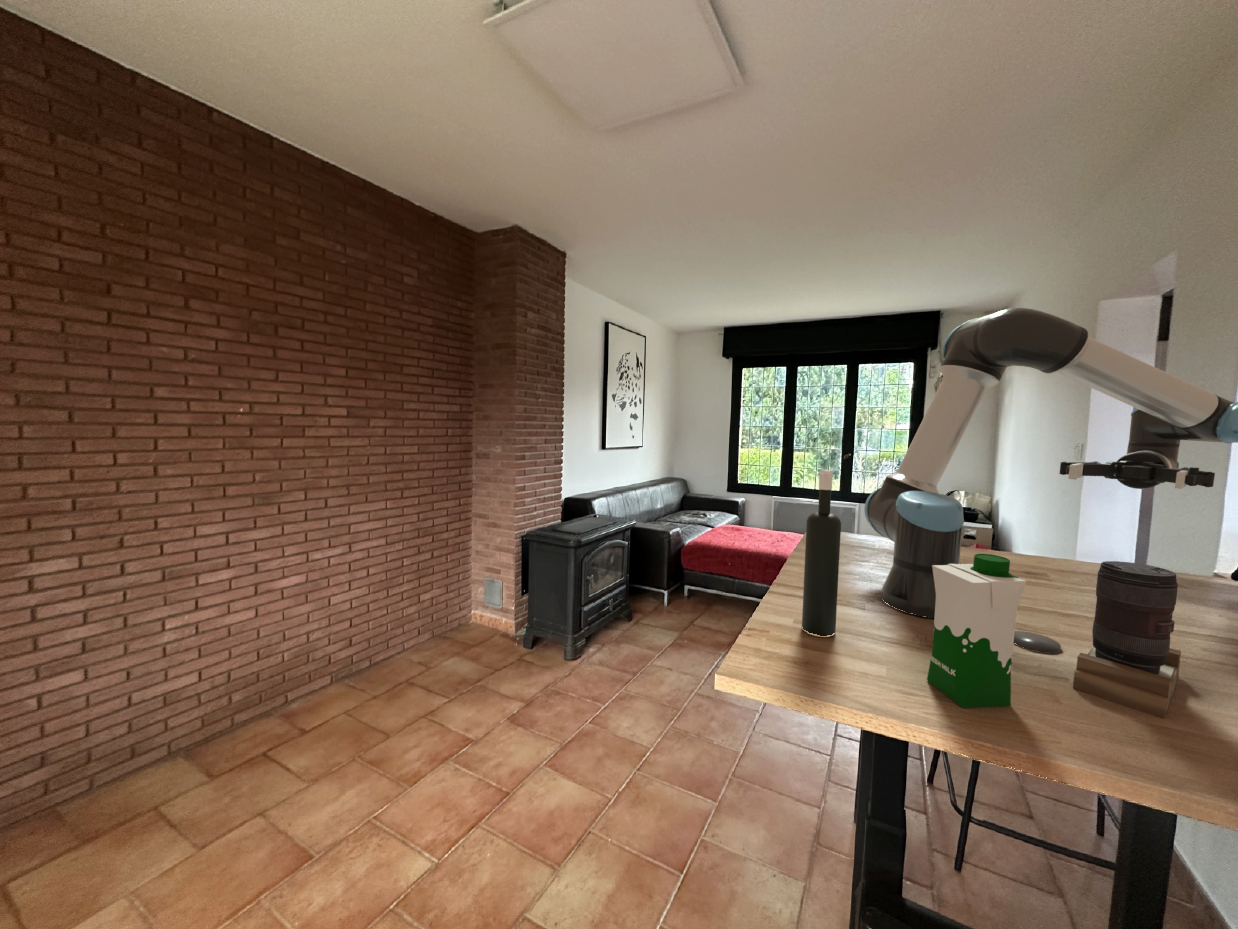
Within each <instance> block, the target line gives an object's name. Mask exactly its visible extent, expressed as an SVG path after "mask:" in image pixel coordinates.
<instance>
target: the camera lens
mask: <svg viewBox="0 0 1238 929" xmlns="http://www.w3.org/2000/svg"><path fill="white" fill-rule="evenodd" d="M1096 576H1097V578H1096V587H1095V588H1096V590H1095V597H1096V601H1095V611H1094V620H1093V624H1092V630H1091V631H1092V647H1093V646H1094V647H1095V657H1098V658H1101V659H1105V660H1108V661H1112V662H1115V663H1119V664H1122V665H1125V666H1129V667H1132V668H1136V669H1139V670H1143V671H1146V672H1150V673H1153V674H1156V675H1158V674H1159V672H1160V667H1161V666H1163V665H1164V664H1165V663H1166V658H1167V655H1168V653H1169V648H1171V647H1170V646H1171V634H1172V633H1173V632H1174V631H1175V630H1174V629H1175V620H1173V614H1174V611H1175V607H1176V604H1177V596H1178V588H1179V584H1178V580H1177V573H1176V572H1175V571H1172V570H1170V569H1166V568H1162V567H1158V566H1153V565H1149V564H1144V563H1138V562H1137V563H1136V562H1130V561H1116V560H1113V561H1109V560H1107V561H1106V560H1105V561H1102V562H1101V563H1100V567H1099V569H1098V570H1097V575H1096Z"/></svg>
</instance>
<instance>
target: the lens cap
mask: <svg viewBox="0 0 1238 929" xmlns="http://www.w3.org/2000/svg"><path fill="white" fill-rule="evenodd" d="M1014 643H1016V644H1017V645H1016V644H1015V645H1016V646H1018V645H1019V646H1018V647H1020V648H1023V647H1024V648H1023V649H1026V650H1030V651H1032V650H1033V652H1036V653H1037V652H1038V653H1042V654H1059V653H1060V652H1061V650H1062V645H1061V644H1060V642H1058V641H1057V640H1056V639H1053V638H1050V637H1048V636H1045V635H1042V634H1038V633H1036V632H1031V631H1030V632H1029V631H1023V630H1015V633H1014ZM1014 643H1013V644H1014Z"/></svg>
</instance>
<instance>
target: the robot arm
mask: <svg viewBox="0 0 1238 929" xmlns="http://www.w3.org/2000/svg"><path fill="white" fill-rule="evenodd" d="M941 355H942V357H943V361H942V363H941V365H940V367H939V370H940V371H939V372H941V375H942V377H943V378H942V380H941V382H940V384H939V386H938V387H937V390H936V392H935V394H934V396H933V398H932V399H931V400H932V401H931V402H930V404H929V406H928V408H927V410H926V412H925V414H924V416H923V418H922V421H921V423H920V424H919V426H918V428H917V430H916V433H915V434H914V437H913V439H912V441H911V442H910V444H909V447H908V449H907V450H906V453H905V454H904V457H903V459H902V460H901V462H900V464H899V467H898V469H897V471H896V472H894V473H891V474H888V475H886V477H885V479H884V481H883V483H882V485H881V487H880V488H877V489H875V490H873V491H872V492H871V493H870V495H868V496H867V499H866V500H865V504H864V517H865V518H866V521H867V524H869V526H870V527H871V529H873V530H874V531H875V532H876V533H877V534H878V535H880V536H882V537H885V538H886V539H888V540H890V541H892V542H893V543H894V544H893V545H894V546H893V558H892V559H893V561H892V567H890V571H889V573H888V575H887V577H886V579H885V581H884V583H883V585H882V589H881V600H882V599H883V600H884V602H886V603H888V604H889V605H890V606H893V607H895V608H897V609H900V610H903V611H905V612H907V613H906V614H908V613H913V614H916V615H919V616H918V617H920V616H926V617H929V618H928V619H933V618H935V604H936V591H935V583H934V576H933V568H932V565H948V564H961V563H960V562H961V550H962V539H963V538H962V536H963V526H964V523H965V519H964V518H965V517H964V507H963V505H962V503H961V502H960V501H959V500H957V499H956V498H954V497H952V496H949V495H946V494H943V493H941V494H940V492H939V490H938V488H937V487H938V485H939V483H940V481H941V478H942V476H943V475H944V472H945V470H946V469H947V467H948V464H949V463H950V461H951V459H952V457H953V455H954V454H955V451H956V450H957V447H958V445H959V443H960V442H961V439H962V438H963V436H964V433H965V432H966V430H967V427H968V425H969V424H970V422H971V420H972V419H973V417H974V415H975V413H976V410H977V408H978V406H979V404H980V402H981V400H982V398H983V396H984V394H985V393H986V391H987V390H988V389H990V388H992V387H994V386H997V385H999V384H1000V381H1001V380H1002V377H1003V375H1004V373H1005V371H1006V369H1007V368H1008V367H1012V366H1015V367H1024V368H1025V367H1026V368H1030V369H1034V370H1035V369H1036V370H1038V371H1040V372H1042V373H1044V374H1048V375H1050V374H1051V375H1052V374H1055V373H1058V374H1060V375H1062V376H1064V377H1066V378H1069V379H1072V380H1074V381H1075V382H1078V383H1080V384H1082V385H1084V386H1086V387H1090V388H1091V389H1093V390H1095V391H1098V392H1100V393H1102V394H1105V395H1106V396H1109V397H1111V398H1113V399H1115V400H1118V401H1120V402H1122V403H1124V404H1127V405H1129V406H1131V407H1132V412H1131V413H1130V417H1131V419H1130V425H1129V426H1130V427H1129V428H1130V429H1129V437H1128V438H1129V439H1128V445H1127V451H1126V454H1124V455H1122V456H1121V457H1120V458H1118V459H1117V461H1106V462H1105V463H1101V462H1100V461H1089V462H1087V461H1085V462H1084V461H1082V462H1081V461H1080V462H1079V461H1077V462H1076V461H1074V462H1073V461H1072V462H1069V461H1068V462H1067V461H1062V462H1060V465H1059V466H1060V467H1059V475H1062V476H1066V475H1068V480H1077V479H1079V478H1083V477H1103V478H1105V479H1109V480H1117V481H1118V482H1119V483H1120V484H1122V485H1123V486H1125V487H1127V488H1130V489H1135V490H1136V489H1137V490H1145V489H1151V488H1154V487H1156V486H1158V485H1161V484H1164V483H1172V484H1174V489H1181V490H1183V489H1184V488H1186V486H1189V487H1196V486H1201V487H1204V488H1213V487H1214V482H1215V475H1216V473H1215V472H1213V471H1204V470H1200V467H1191V466H1190V467H1185V466H1184V467H1180V463H1179V462H1178V458H1179V450H1180V446H1181V445H1180V444H1181V441H1192V442H1193V441H1195V442H1208V443H1209V442H1211V443H1224V444H1233V443H1236V444H1237V443H1238V401H1231V400H1229V399H1227V398H1224V397H1221V396H1219V395H1217V394H1215V393H1213V392H1211V391H1208V390H1206V389H1204V388H1203V387H1199V386H1197V385H1195V384H1193V383H1191V382H1189V381H1186V380H1183V379H1182V378H1180V377H1177V376H1175V375H1173V374H1171V373H1169V372H1166V371H1164V370H1162V369H1160V368H1157V367H1156V366H1153V365H1151V364H1149V363H1146V362H1144V361H1143V360H1140V359H1138V358H1136V357H1133V356H1132V355H1129V354H1126V353H1124V352H1122V351H1121V350H1118V349H1116V348H1113V347H1112V346H1109V345H1107V344H1105V343H1102V342H1100V341H1098V340H1096V339H1095V338H1092V337H1091V336H1090V332H1089V330H1088V329H1086V328H1085V327H1083V326H1081V325H1078V324H1076V323H1074V322H1072V321H1069V320H1067V319H1064V318H1063V317H1059V316H1056V315H1054V314H1052V313H1048V312H1045V311H1041V310H1038V309H1033V308H1027V307H1012V308H1005V309H1003V310H999V311H997V312H993V313H991V314H987V315H984V316H982V317H976V318H973V319H969V320H967V321H966V322H963V323H962V324H960V325H959V326H957V327H955V328H954V329H953V330H952V331H950V333H949V334H948V335H947V336H946V337H945V339H944V342H943V344H942V349H941ZM1179 467H1180V468H1179ZM883 600H882V601H883ZM884 602H883V603H884ZM886 603H885V604H886ZM889 605H888V606H889ZM890 606H889V607H890ZM897 609H896V610H897ZM905 612H904V613H905ZM916 615H915V616H916ZM926 617H925V618H926Z"/></svg>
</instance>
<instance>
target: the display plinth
mask: <svg viewBox="0 0 1238 929" xmlns="http://www.w3.org/2000/svg"><path fill="white" fill-rule="evenodd" d="M1181 654H1182V651H1181V650H1179V649H1176V648H1171V647H1170V648H1169V653H1168V655H1167V658H1166V663H1165V664H1164V665H1163V666H1161V667H1160V672H1159V674H1158V675H1156V674H1153V673H1150V672H1146V671H1143V670H1139V669H1136V668H1132V667H1129V666H1125V665H1122V664H1119V663H1115V662H1112V661H1108V660H1105V659H1101V658H1098V657H1095V647H1094V646H1093V645H1092V647H1091V649H1090V650H1089V652H1088V653H1084V652H1079V654H1078V655H1077V660H1076V668H1075V670H1074V673H1073V675H1074V676H1073V682H1072V688H1073V689H1077V690H1080V691H1083V692H1084V693H1085V692H1086V693H1088V694H1091V695H1094V696H1097V697H1100V698H1103V699H1105V700H1108V701H1109V700H1110V701H1112V702H1115V703H1118V704H1121V705H1124V706H1128V707H1130V708H1131V709H1135V710H1139V711H1142V712H1145V713H1148V714H1150V715H1154V716H1155V717H1156V716H1157V717H1160V718H1163V719H1165V717H1166V714H1167V711H1168V709H1169V705H1170V703H1171V700H1172V697H1173V694H1174V691H1175V689H1176V688H1175V687H1176V685H1177V681H1178V678H1179V672H1180V667H1181V666H1180V664H1181Z"/></svg>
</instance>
